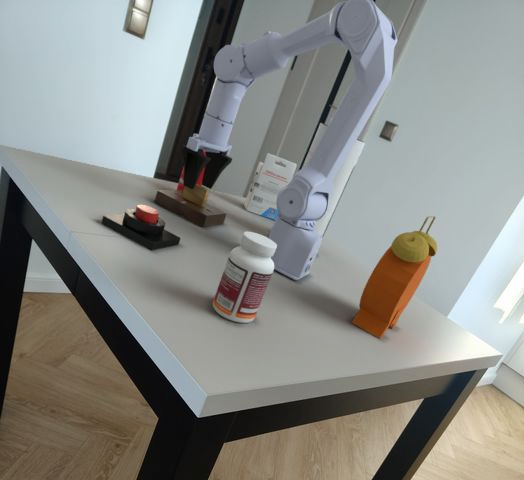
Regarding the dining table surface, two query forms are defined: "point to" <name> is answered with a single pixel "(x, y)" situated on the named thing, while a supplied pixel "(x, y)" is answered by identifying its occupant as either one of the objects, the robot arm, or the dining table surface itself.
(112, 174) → the dining table surface
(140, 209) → the bell button
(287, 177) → the ink box
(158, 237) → the box
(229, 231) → the dining table surface
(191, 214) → the plate
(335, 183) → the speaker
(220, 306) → the pill bottle
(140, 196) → the dining table surface
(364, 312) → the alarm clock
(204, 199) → the lock knob
